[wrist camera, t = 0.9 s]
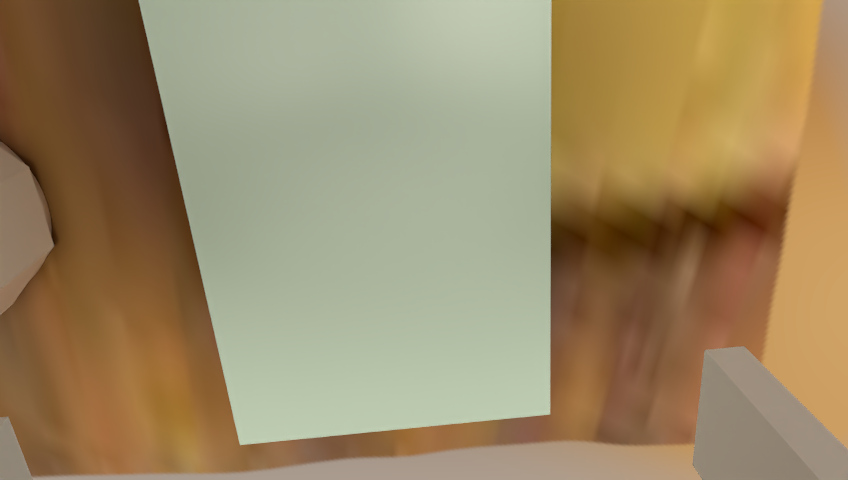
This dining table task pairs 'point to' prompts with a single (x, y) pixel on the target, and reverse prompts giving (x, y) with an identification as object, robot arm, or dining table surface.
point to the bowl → (20, 227)
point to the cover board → (366, 205)
